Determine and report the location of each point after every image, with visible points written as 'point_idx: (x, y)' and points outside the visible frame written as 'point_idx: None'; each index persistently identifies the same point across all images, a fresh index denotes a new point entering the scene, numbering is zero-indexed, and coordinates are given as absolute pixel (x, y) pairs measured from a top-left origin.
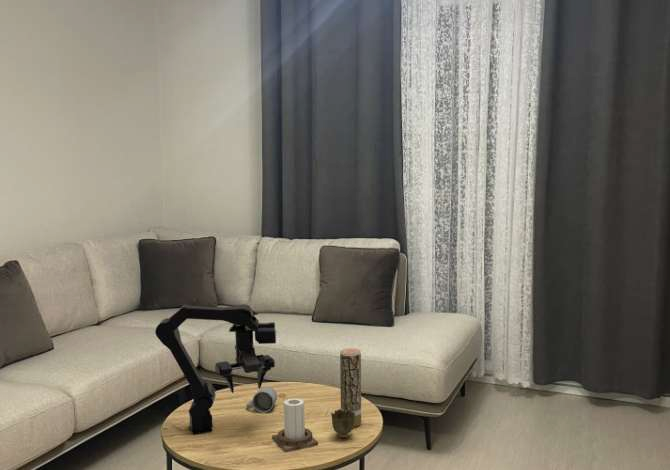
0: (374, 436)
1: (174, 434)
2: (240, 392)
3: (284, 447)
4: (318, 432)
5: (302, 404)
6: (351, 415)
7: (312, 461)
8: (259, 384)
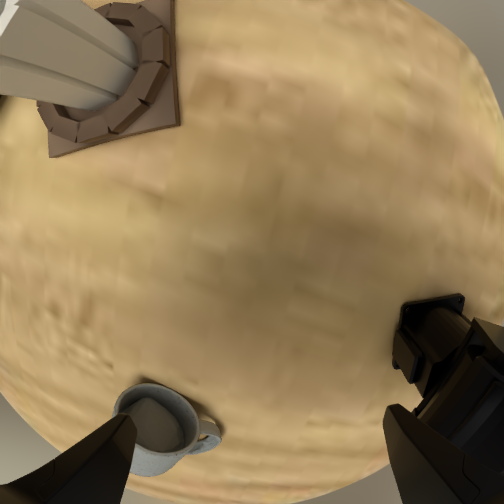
0: None
1: (491, 317)
2: (219, 494)
3: (166, 4)
4: (25, 142)
5: None
6: None
7: None
8: (110, 436)
